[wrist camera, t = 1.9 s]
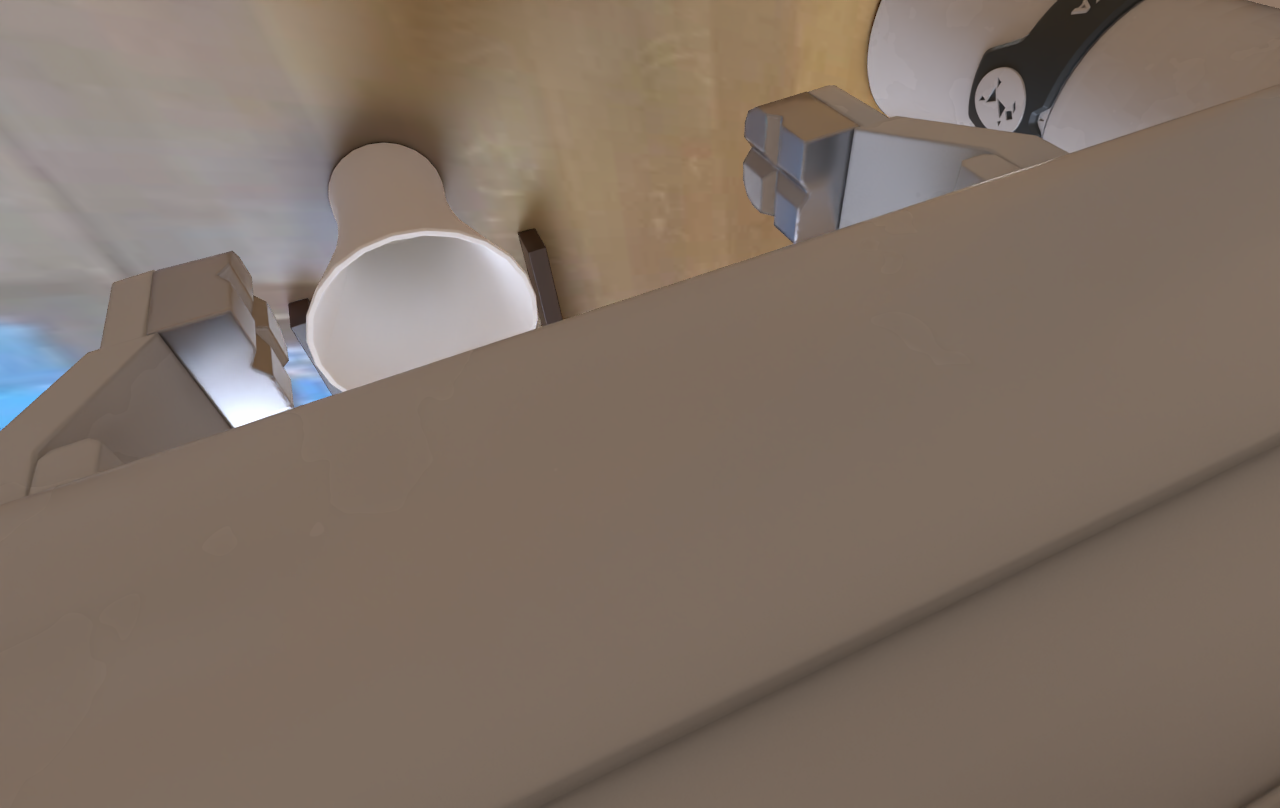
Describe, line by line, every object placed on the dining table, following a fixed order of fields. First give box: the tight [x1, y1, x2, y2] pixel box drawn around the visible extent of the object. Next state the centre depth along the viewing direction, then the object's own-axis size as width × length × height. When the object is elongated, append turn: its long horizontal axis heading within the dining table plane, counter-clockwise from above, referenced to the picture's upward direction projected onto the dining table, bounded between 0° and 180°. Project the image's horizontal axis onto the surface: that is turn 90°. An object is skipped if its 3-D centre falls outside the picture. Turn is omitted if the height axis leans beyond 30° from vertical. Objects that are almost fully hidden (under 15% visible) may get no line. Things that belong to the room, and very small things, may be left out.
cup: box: [306, 143, 538, 392], centre depth 37 cm, size 10×10×14 cm
